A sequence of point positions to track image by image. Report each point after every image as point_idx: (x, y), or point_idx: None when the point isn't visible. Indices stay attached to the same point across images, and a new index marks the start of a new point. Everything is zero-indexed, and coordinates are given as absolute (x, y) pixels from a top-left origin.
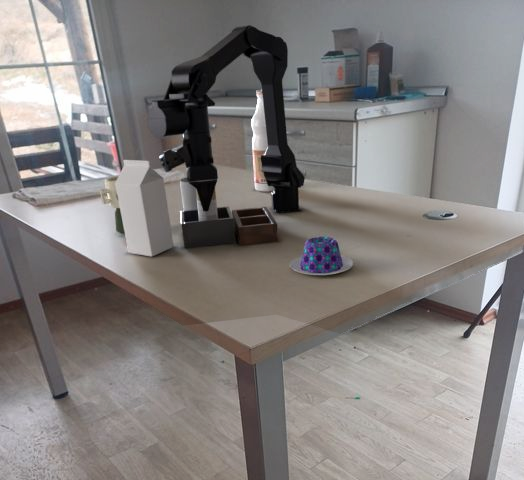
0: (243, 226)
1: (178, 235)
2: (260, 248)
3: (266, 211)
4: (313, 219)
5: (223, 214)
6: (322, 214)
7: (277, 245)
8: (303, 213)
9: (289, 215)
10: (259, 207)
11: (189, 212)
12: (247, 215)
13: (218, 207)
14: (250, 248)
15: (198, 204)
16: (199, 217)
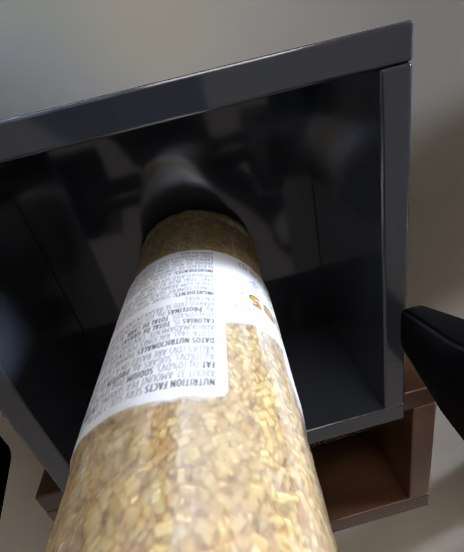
0: (55, 512)
1: (285, 4)
2: (29, 483)
3: (336, 524)
4: (373, 539)
5: (361, 359)
6: (420, 546)
7: None
8: (458, 506)
9: (455, 478)
10: (425, 487)
11: (373, 135)
12: (393, 423)
13: (399, 366)
14: (23, 454)
15: (116, 377)
16: (146, 284)
